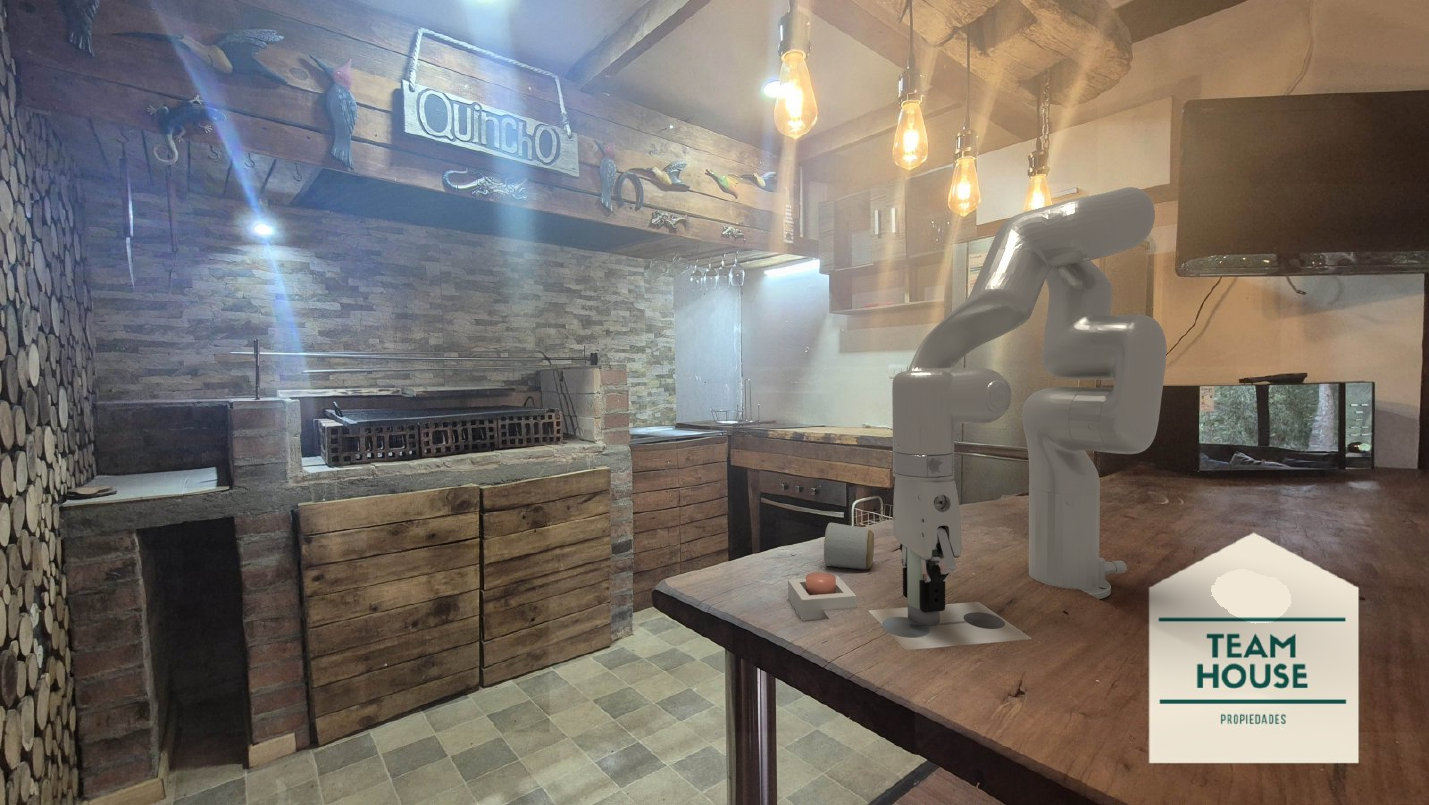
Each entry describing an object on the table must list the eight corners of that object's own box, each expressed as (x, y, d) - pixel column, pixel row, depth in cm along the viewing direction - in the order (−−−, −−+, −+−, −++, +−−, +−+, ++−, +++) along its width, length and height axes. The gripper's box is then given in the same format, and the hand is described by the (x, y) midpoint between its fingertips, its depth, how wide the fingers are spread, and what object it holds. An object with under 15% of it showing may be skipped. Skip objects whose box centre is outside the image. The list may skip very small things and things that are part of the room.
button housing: (838, 594, 89) (837, 576, 89) (856, 616, 81) (856, 595, 81) (788, 598, 88) (788, 579, 88) (802, 620, 80) (802, 600, 80)
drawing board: (980, 608, 83) (980, 599, 83) (1041, 651, 70) (1041, 640, 70) (861, 617, 81) (861, 608, 81) (902, 664, 68) (902, 653, 68)
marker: (930, 611, 77) (930, 531, 76) (945, 624, 73) (945, 540, 72) (902, 613, 77) (901, 533, 76) (916, 626, 73) (916, 541, 72)
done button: (830, 584, 87) (830, 571, 87) (840, 595, 83) (840, 581, 82) (802, 586, 86) (802, 573, 86) (810, 597, 82) (810, 584, 82)
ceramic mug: (871, 576, 97) (871, 531, 96) (823, 571, 100) (822, 528, 99) (876, 557, 107) (876, 517, 106) (832, 553, 110) (832, 514, 109)
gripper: (988, 475, 66) (988, 629, 67) (919, 455, 82) (919, 578, 83) (927, 478, 65) (927, 634, 66) (869, 457, 82) (870, 582, 83)
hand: (923, 601), depth 75 cm, fingers closed on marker, 3 cm apart
